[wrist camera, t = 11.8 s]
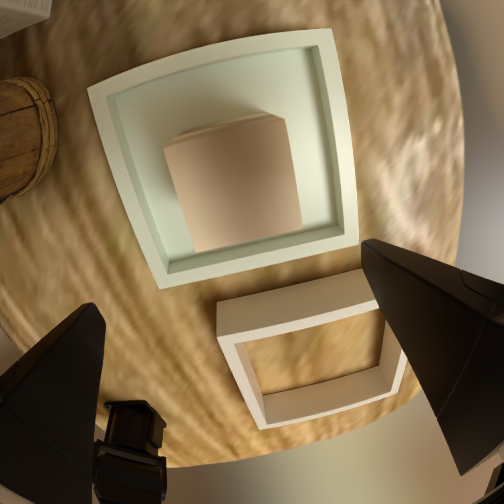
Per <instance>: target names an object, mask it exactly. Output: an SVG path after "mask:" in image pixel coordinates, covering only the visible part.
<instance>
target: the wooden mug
mask: <svg viewBox="0 0 504 504" xmlns="http://www.w3.org/2000/svg"><path fill="white" fill-rule="evenodd" d="M57 147H58V119H57V115H56V111H55V107H54V104H53V101H52V98H51V95H50V92H49V91H48V90H47V88H46V87H45V86H44V85H43V84H42V82H41V81H39V80H37V79H34V78H32V77H27V76H17V77H14V78H11V79H7V80H4V81H2V82H0V205H1V204H2V203H3V202H4V201H5V200H6V199H7V198H14V197H17V196H20V195H23V194H25V193H26V192H28V191H29V190H31V189H33V188H34V187H35V186H36V185H37V184H38V183H39V182H40V181H42V180H43V178H44V177H45V176H46V174H47V173H48V172H49V170H50V169H51V167H52V164H53V160H54V157H55V154H56V151H57Z"/></svg>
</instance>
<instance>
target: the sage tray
mask: <svg viewBox="0 0 504 504" xmlns="http://www.w3.org/2000/svg"><path fill="white" fill-rule="evenodd" d="M87 91H88V95H89V99H90V103H91V106H92V110H93V114H94V117H95V121H96V124H97V127H98V131H99V134H100V137H101V141H102V144H103V147H104V150H105V153H106V156H107V159H108V162H109V165H110V168H111V171H112V174H113V177H114V180H115V183H116V186H117V188H118V191H119V194H120V197H121V199H122V202H123V205H124V207H125V210H126V212H127V215H128V218H129V220H130V223H131V225H132V228H133V230H134V233H135V235H136V237H137V240H138V242H139V245H140V247H141V249H142V252H143V254H144V256H145V259H146V261H147V263H148V265H149V268H150V270H151V272H152V274H153V277H154V279H155V281H156V283H157V285H158V288H159V289H163V288H168V287H173V286H177V285H182V284H187V283H191V282H196V281H201V280H205V279H210V278H214V277H219V276H223V275H228V274H232V273H237V272H241V271H246V270H250V269H255V268H259V267H264V266H268V265H272V264H277V263H281V262H286V261H290V260H294V259H299V258H303V257H307V256H311V255H316V254H320V253H324V252H328V251H333V250H337V249H341V248H345V247H349V246H354V245H358V244H359V229H358V209H357V194H356V181H355V170H354V160H353V151H352V142H351V134H350V126H349V119H348V112H347V106H346V99H345V93H344V88H343V82H342V77H341V71H340V66H339V61H338V56H337V52H336V47H335V43H334V38H333V34H332V30H331V28H330V29H311V30H298V31H288V32H279V33H271V34H264V35H257V36H251V37H246V38H240V39H235V40H230V41H225V42H220V43H216V44H212V45H207V46H203V47H199V48H196V49H192V50H188V51H185V52H181V53H178V54H174V55H171V56H168V57H165V58H162V59H159V60H156V61H153V62H150V63H147V64H144V65H141V66H139V67H136V68H133V69H131V70H128V71H125V72H123V73H120V74H118V75H116V76H113V77H111V78H108V79H106V80H104V81H102V82H99V83H97V84H95V85H93V86H91V87H89V88H87ZM261 112H268V113H270V114H273V115H276V116H278V117H281V118H283V119H285V122H286V127H287V132H288V138H289V143H290V149H291V154H292V160H293V166H294V172H295V178H296V184H297V190H298V197H299V203H300V210H301V217H302V223H303V229H300V230H296V231H291V232H287V233H282V234H278V235H273V236H269V237H264V238H260V239H255V240H251V241H247V242H242V243H238V244H233V245H229V246H224V247H220V248H216V249H211V250H207V251H203V252H198V253H196V251H195V248H194V245H193V242H192V239H191V236H190V233H189V230H188V227H187V224H186V221H185V218H184V215H183V212H182V209H181V206H180V202H179V199H178V196H177V193H176V190H175V187H174V183H173V180H172V177H171V174H170V170H169V167H168V164H167V160H166V157H165V153H164V150H163V148H164V147H165V146H166V145H167V144H168V143H169V142H171V141H172V140H173V139H174V138H175V137H176V136H178V135H179V134H180V133H181V132H182V131H185V130H189V129H192V128H196V127H200V126H204V125H208V124H212V123H216V122H220V121H224V120H228V119H233V118H237V117H242V116H246V115H251V114H256V113H261Z"/></svg>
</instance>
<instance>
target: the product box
mask: <svg viewBox="0 0 504 504" xmlns="http://www.w3.org/2000/svg"><path fill="white" fill-rule="evenodd" d="M51 5H52V0H0V39H2V38H4V37H6V36H8V35H10V34H12V33H15V32H17V31H19V30H21V29H24V28H26V27H28V26H31V25H33V24H36V23H39V22H41V21H44V20H47V19H49V18H50V12H51Z"/></svg>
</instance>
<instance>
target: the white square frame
mask: <svg viewBox="0 0 504 504" xmlns="http://www.w3.org/2000/svg"><path fill="white" fill-rule="evenodd" d="M378 308H379V306H378V304H377V302H376V299H375V297H374V295H373V292H372V290H371V288H370V285H369V283H368V281H367V279H366V276H365V274H364V272H363V270H362V268H360V269H357V270H353V271H349V272H345V273H341V274H337V275H333V276H329V277H325V278H321V279H317V280H313V281H308V282H304V283H300V284H296V285H292V286H287V287H283V288H279V289H274V290H270V291H265V292H261V293H256V294H252V295H247V296H243V297H238V298H233V299H229V300H224V301H219V302H217V336H216V337H217V340H218V342H219V344H220V346H221V349H222V351H223V353H224V356H225V358H226V360H227V362H228V365H229V367H230V369H231V371H232V373H233V376H234V378H235V380H236V382H237V384H238V386H239V389H240V391H241V393H242V395H243V397H244V399H245V401H246V403H247V406H248V408H249V410H250V412H251V414H252V416H253V418H254V420H255V422H256V424H257V426H258V428H259V430H261V429H267V428H273V427H278V426H283V425H288V424H293V423H298V422H302V421H306V420H311V419H315V418H319V417H323V416H327V415H330V414H334V413H338V412H341V411H345V410H348V409H351V408H355V407H358V406H361V405H364V404H367V403H370V402H373V401H376V400H379V399H382V398H385V397H388V396H390V395H393V394H396V393H397V392H398V389H399V386H400V383H401V379H402V376H403V373H404V369H405V366H406V362H407V357H406V355H405V353H404V352H403V350H402V348H401V346H400V344H399V342H398V340H397V339H396V337H395V335H394V333H393V331H392V329H391V328H390V326H389V324H388V322H387V321H385V329H384V336H383V343H382V350H381V356H380V362H379V366H376V367H373V368H370V369H367V370H364V371H360V372H357V373H354V374H350V375H347V376H344V377H340V378H337V379H333V380H329V381H326V382H322V383H318V384H314V385H310V386H306V387H301V388H297V389H293V390H288V391H284V392H279V393H274V394H269V395H264V396H263V395H262V392H261V389H260V387H259V384H258V381H257V378H256V376H255V373H254V370H253V367H252V365H251V362H250V359H249V356H248V354H247V351H246V348H245V345H244V342H245V341H250V340H255V339H260V338H265V337H269V336H274V335H279V334H283V333H287V332H292V331H296V330H300V329H304V328H308V327H312V326H316V325H320V324H324V323H328V322H332V321H336V320H339V319H343V318H347V317H350V316H354V315H357V314H361V313H364V312H368V311H371V310H374V309H378Z"/></svg>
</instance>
